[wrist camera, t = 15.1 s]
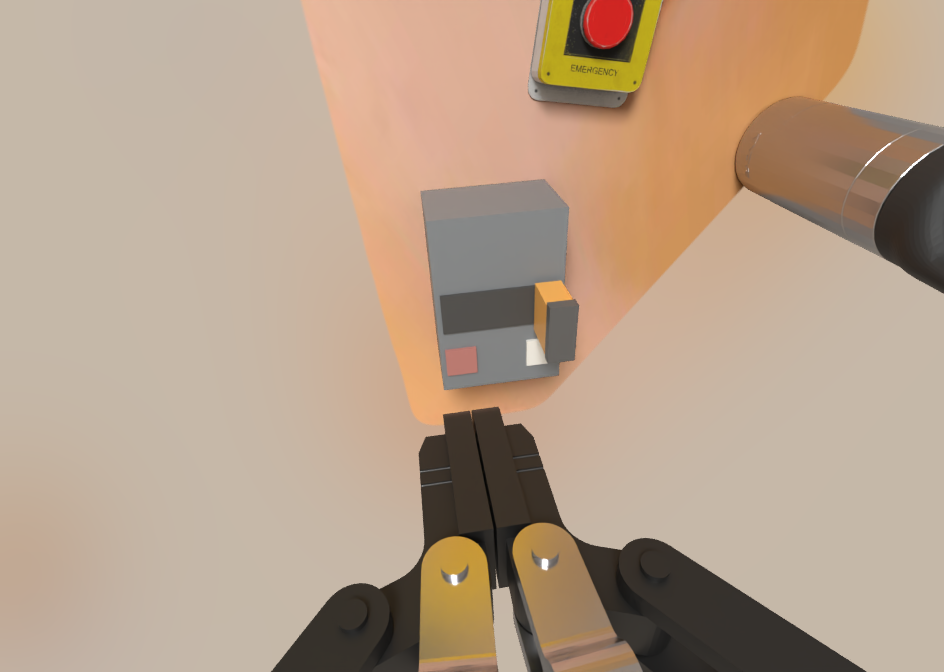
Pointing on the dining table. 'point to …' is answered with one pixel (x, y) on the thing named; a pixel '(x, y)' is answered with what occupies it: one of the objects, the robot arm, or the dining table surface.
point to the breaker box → (492, 277)
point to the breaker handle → (555, 321)
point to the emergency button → (591, 50)
